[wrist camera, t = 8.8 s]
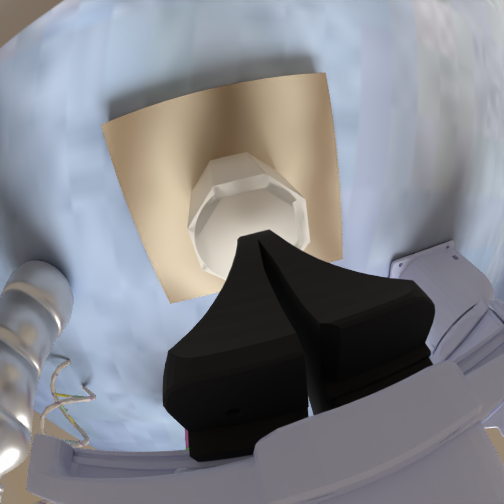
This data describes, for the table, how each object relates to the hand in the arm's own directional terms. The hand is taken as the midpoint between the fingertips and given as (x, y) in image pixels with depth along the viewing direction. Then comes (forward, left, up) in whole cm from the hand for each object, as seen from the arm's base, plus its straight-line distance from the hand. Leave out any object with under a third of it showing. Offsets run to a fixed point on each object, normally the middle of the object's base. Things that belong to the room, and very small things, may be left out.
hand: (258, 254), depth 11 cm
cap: (0, 0, -7) cm, 7 cm away
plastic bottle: (+18, +3, -9) cm, 20 cm away
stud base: (0, 0, -9) cm, 9 cm away
